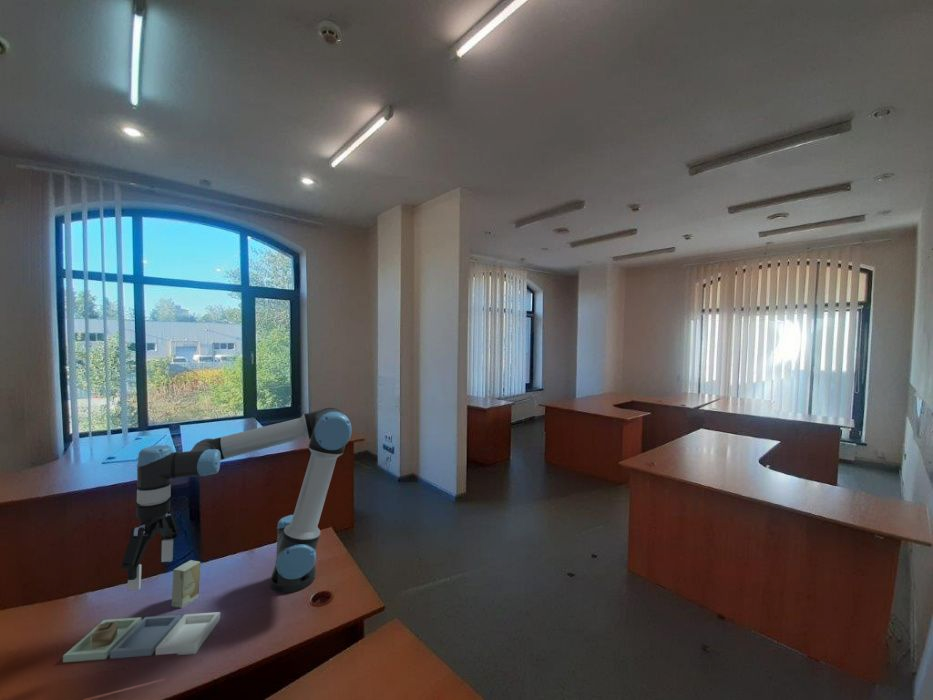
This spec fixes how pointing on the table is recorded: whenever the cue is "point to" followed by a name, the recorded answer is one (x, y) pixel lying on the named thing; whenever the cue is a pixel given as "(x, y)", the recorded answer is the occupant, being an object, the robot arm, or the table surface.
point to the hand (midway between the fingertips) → (151, 574)
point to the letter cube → (104, 634)
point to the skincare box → (185, 583)
